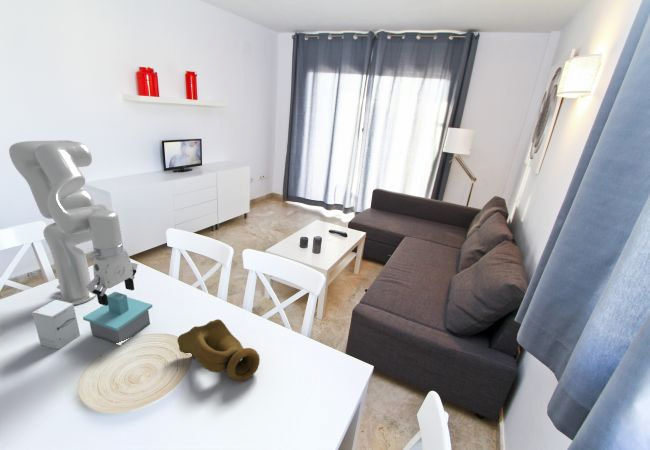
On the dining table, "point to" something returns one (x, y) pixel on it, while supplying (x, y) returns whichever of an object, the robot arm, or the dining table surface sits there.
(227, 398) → the dining table surface
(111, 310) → the lid
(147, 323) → the tub
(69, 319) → the supplement box
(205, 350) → the brown looped sculpture
